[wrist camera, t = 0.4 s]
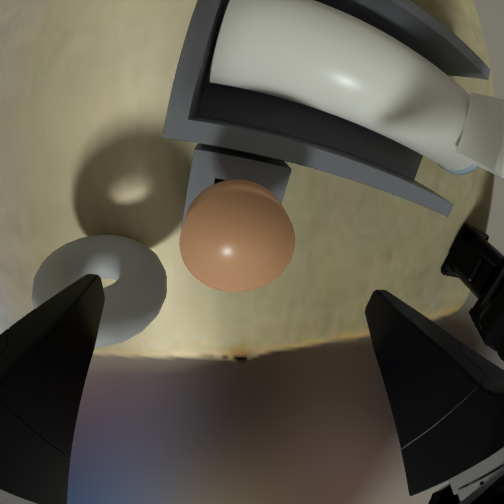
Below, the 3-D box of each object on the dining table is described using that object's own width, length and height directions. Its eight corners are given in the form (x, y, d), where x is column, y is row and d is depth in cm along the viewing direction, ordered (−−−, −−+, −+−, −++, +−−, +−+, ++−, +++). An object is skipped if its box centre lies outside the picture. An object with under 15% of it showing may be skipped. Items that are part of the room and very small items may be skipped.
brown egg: (280, 168, 14) (310, 205, 10) (260, 237, 16) (276, 297, 12) (200, 152, 13) (188, 181, 9) (188, 225, 16) (175, 284, 11)
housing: (438, 65, 14) (489, 68, 9) (379, 242, 22) (414, 282, 17) (225, -25, 10) (227, -67, 5) (169, 201, 19) (150, 242, 14)
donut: (71, 258, 20) (20, 341, 12) (65, 223, 18) (-1, 301, 10) (176, 268, 22) (157, 370, 13) (176, 231, 20) (150, 330, 12)
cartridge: (443, 94, 14) (533, 116, 7) (424, 160, 17) (509, 207, 10) (237, 3, 11) (252, -74, 3) (212, 87, 14) (199, 69, 6)
